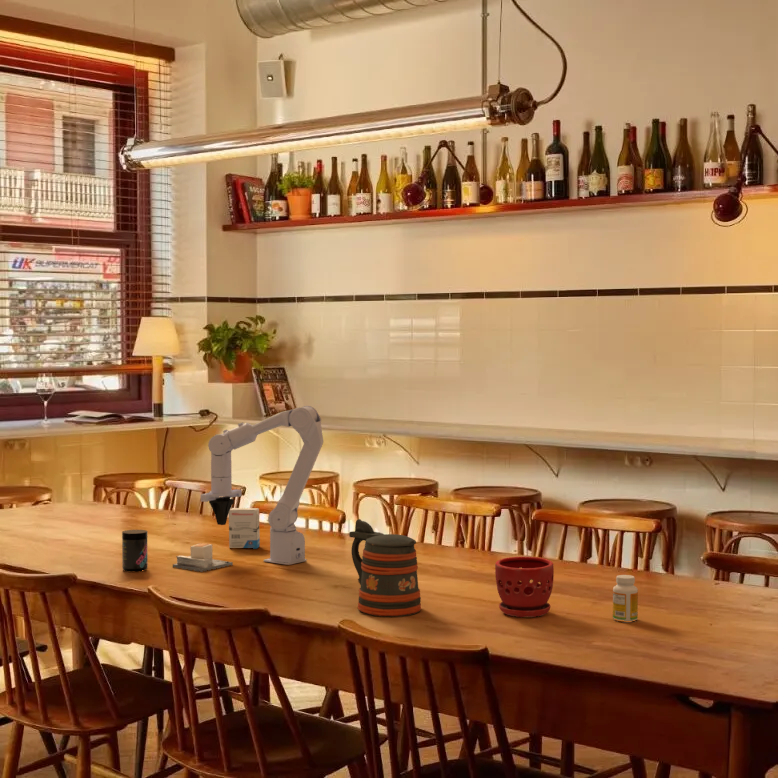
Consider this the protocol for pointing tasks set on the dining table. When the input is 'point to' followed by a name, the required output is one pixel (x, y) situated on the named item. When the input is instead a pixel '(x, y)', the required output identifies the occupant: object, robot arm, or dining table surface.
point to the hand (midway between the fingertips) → (221, 524)
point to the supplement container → (134, 550)
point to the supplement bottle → (625, 598)
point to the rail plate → (199, 563)
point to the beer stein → (386, 572)
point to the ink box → (244, 528)
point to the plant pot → (524, 585)
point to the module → (201, 551)
